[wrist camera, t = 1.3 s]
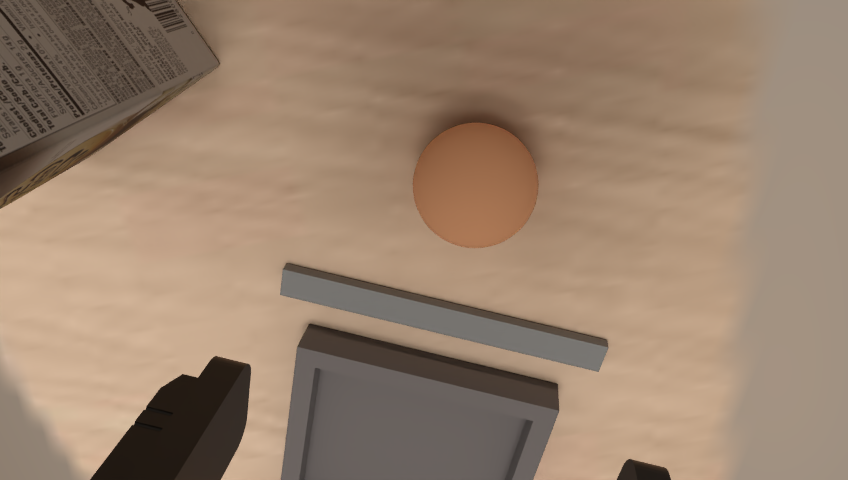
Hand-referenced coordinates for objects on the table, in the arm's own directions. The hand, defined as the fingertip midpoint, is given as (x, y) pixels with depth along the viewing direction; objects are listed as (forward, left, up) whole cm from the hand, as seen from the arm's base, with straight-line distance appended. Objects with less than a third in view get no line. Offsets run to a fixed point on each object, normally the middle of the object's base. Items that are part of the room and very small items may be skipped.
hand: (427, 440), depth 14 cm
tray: (+17, 0, -17) cm, 24 cm away
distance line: (+8, 0, -17) cm, 19 cm away
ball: (0, 0, -14) cm, 14 cm away
